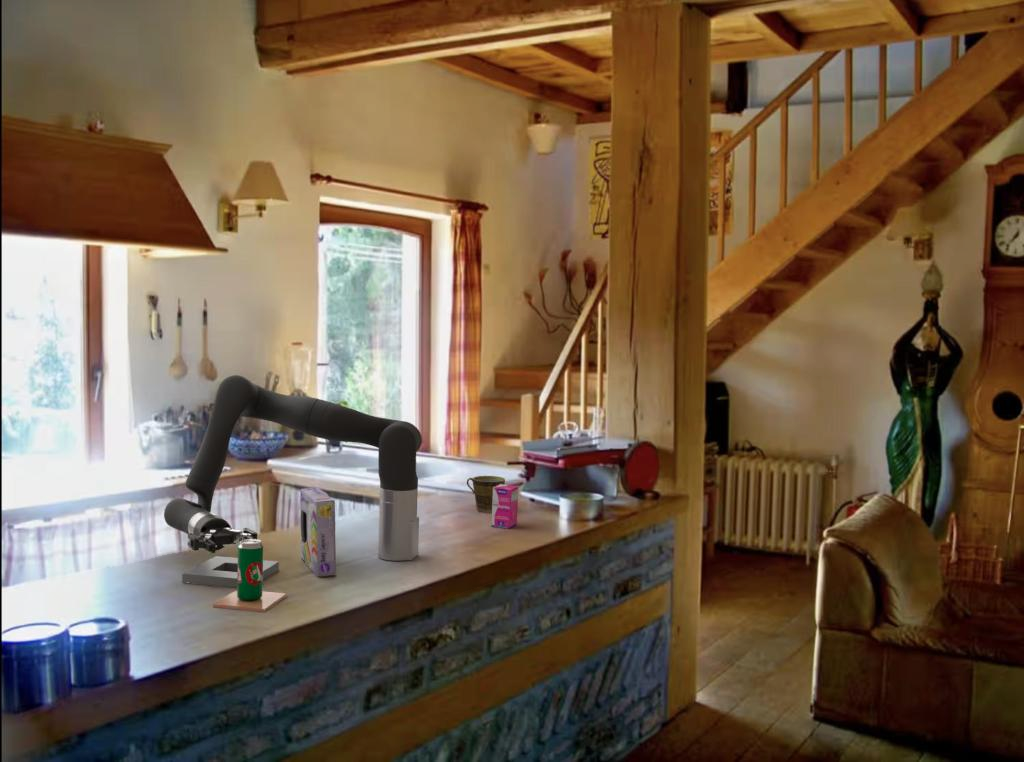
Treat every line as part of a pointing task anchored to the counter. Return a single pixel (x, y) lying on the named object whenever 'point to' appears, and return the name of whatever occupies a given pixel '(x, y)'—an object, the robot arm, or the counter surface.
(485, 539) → the counter surface
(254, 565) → the soda can
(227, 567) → the frame
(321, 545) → the cake pan box
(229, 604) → the terracotta tile
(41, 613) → the counter surface
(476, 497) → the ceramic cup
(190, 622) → the counter surface
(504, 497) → the supplement box
